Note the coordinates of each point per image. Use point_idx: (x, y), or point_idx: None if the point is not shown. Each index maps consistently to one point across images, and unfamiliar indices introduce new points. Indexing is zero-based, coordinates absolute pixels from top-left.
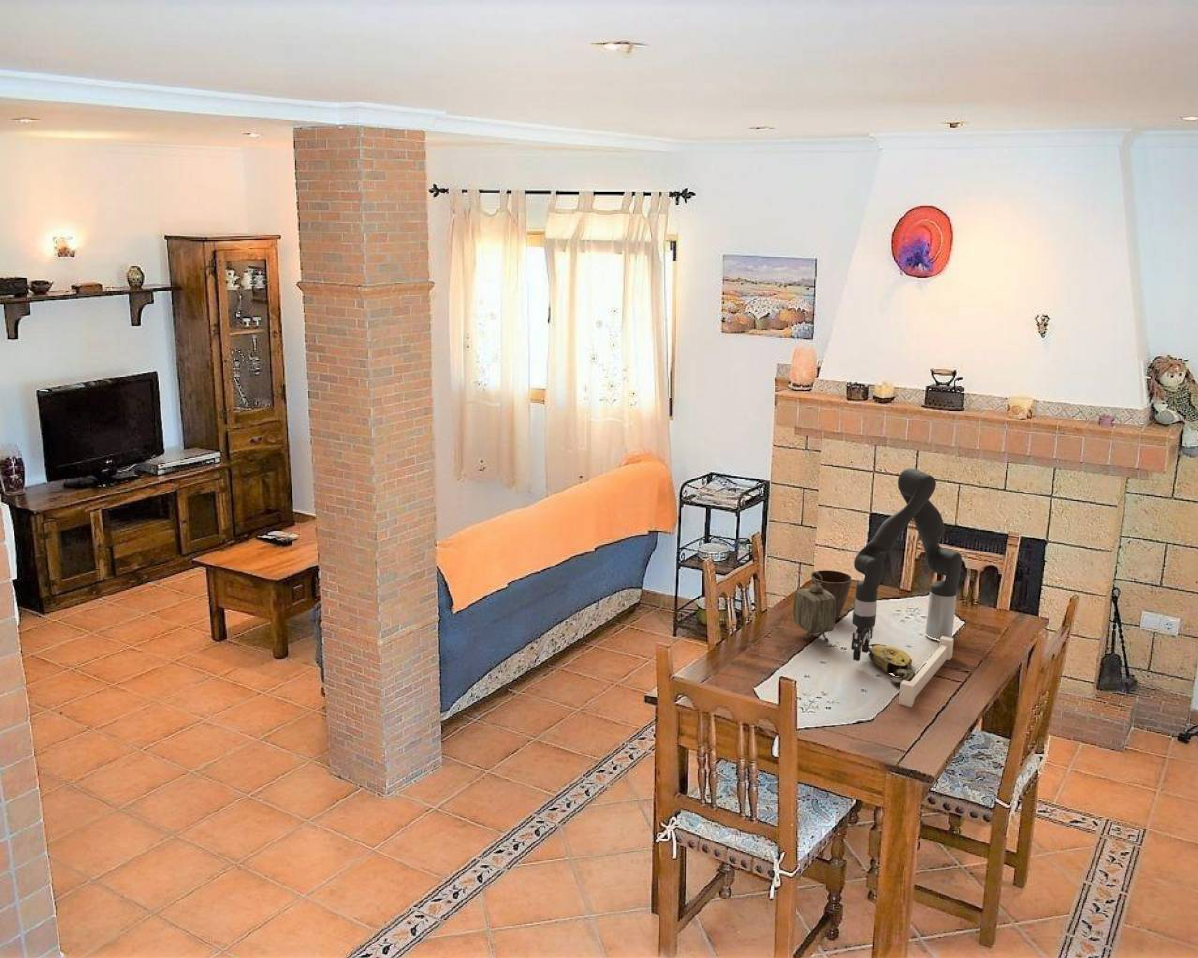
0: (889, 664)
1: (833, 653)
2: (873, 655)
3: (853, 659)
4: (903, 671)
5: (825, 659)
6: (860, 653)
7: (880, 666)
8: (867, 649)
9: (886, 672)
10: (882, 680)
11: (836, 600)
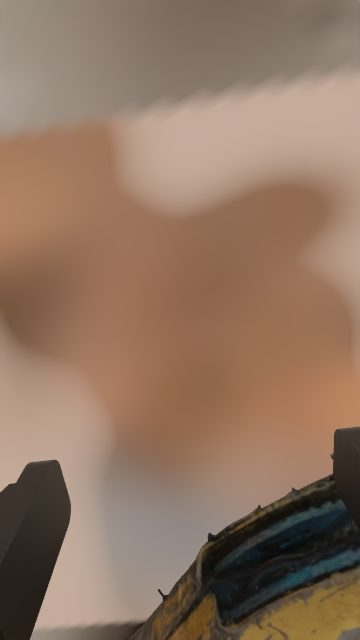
0: None
1: (259, 62)
2: (232, 608)
3: (33, 463)
4: None
5: (9, 81)
6: (40, 607)
7: (153, 620)
8: (354, 520)
9: (131, 636)
10: None
11: None
